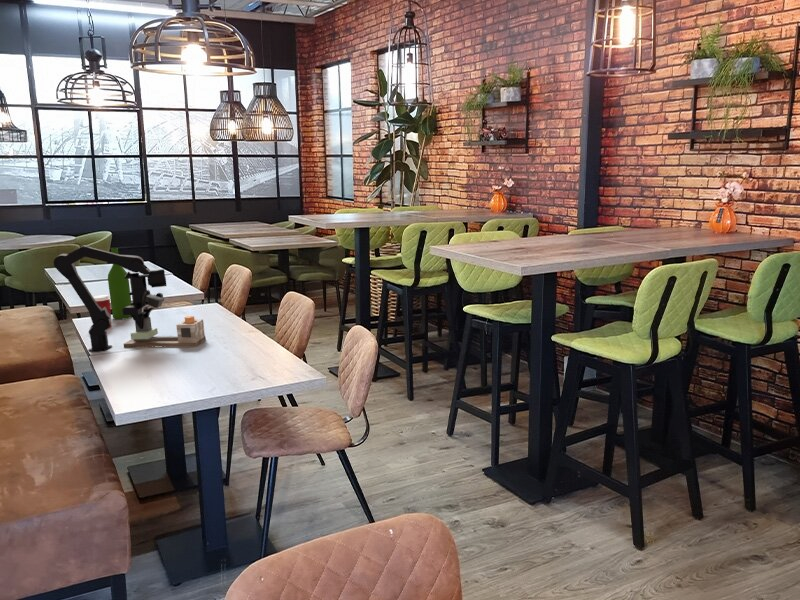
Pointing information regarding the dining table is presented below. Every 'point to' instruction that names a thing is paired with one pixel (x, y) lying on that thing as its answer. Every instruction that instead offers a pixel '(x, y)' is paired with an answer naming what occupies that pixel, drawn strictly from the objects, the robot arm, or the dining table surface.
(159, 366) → the dining table surface
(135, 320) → the robot arm
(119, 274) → the wine bottle
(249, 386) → the dining table surface
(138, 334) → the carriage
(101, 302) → the paper cup
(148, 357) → the dining table surface
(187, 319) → the button
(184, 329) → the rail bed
